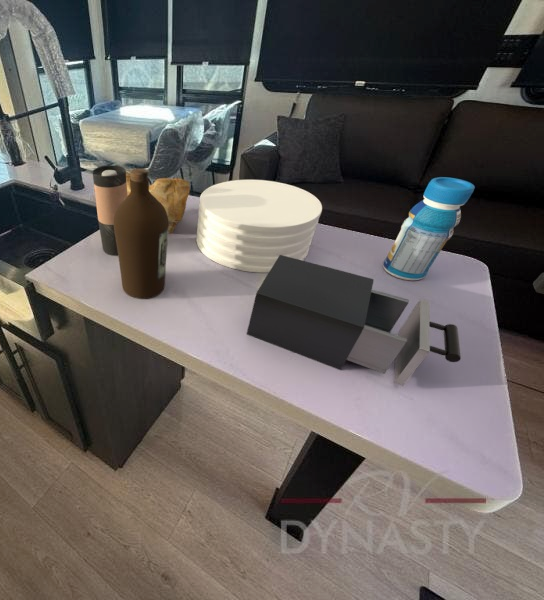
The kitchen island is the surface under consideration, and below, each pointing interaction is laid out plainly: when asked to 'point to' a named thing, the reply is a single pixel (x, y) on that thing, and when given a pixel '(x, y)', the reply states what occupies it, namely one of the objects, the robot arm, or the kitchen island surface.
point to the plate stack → (256, 223)
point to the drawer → (400, 337)
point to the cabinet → (311, 310)
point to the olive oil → (141, 239)
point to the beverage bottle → (427, 228)
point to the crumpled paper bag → (169, 197)
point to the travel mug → (109, 201)
